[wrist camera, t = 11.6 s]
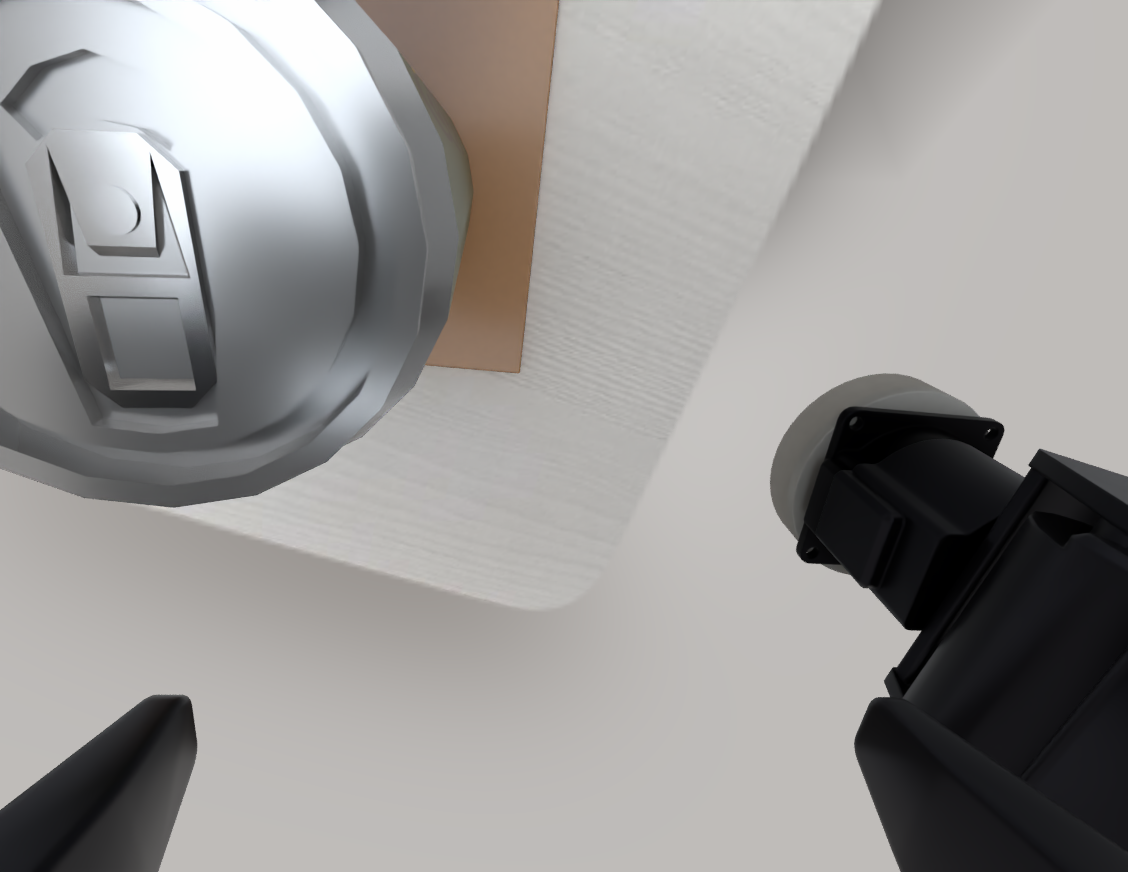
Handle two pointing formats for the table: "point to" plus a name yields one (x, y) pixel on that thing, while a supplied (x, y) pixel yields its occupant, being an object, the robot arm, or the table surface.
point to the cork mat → (485, 152)
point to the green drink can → (213, 240)
